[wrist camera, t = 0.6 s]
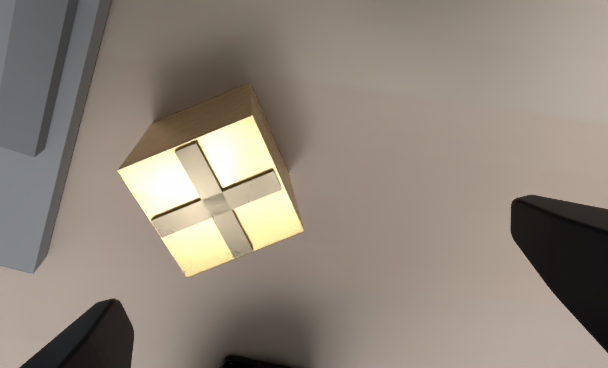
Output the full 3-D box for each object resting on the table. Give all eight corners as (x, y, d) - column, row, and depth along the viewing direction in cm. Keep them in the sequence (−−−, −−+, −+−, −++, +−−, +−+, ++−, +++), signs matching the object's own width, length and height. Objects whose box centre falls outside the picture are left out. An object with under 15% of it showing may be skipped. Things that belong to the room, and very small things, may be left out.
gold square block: (288, 171, 21) (304, 233, 16) (200, 207, 21) (186, 280, 16) (249, 82, 19) (252, 116, 14) (152, 122, 19) (115, 172, 14)
